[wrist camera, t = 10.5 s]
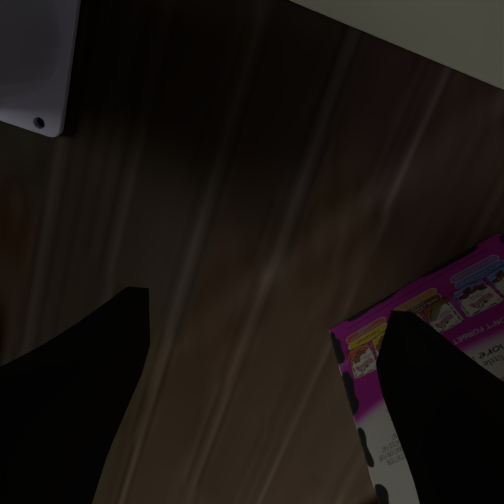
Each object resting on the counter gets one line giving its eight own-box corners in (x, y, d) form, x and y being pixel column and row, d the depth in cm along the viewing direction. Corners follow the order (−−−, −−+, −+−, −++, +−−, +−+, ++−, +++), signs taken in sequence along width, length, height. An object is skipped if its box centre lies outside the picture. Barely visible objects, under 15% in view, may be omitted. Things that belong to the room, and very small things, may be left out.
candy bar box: (366, 376, 27) (503, 776, 12) (325, 327, 25) (428, 726, 10) (533, 290, 24) (994, 686, 9) (500, 227, 22) (1008, 593, 7)
